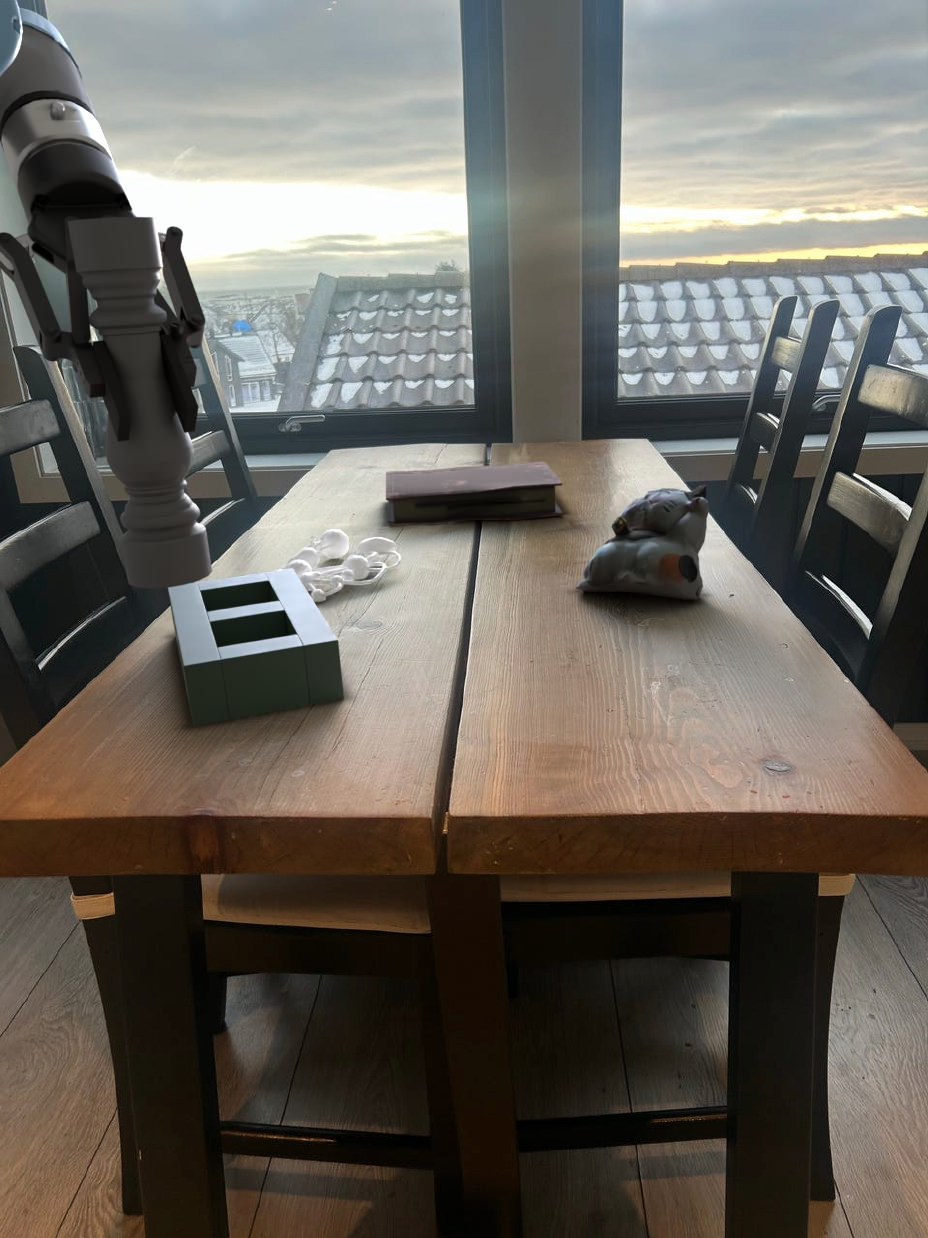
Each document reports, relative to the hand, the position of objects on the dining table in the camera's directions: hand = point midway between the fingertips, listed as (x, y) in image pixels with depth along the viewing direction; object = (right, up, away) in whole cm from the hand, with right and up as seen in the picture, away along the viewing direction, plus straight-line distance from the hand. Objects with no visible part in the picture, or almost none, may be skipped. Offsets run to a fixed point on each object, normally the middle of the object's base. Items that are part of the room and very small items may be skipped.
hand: (158, 423), depth 68 cm
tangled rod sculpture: (+6, -9, +52) cm, 53 cm away
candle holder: (-1, -10, +7) cm, 13 cm away
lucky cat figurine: (+41, -11, +42) cm, 59 cm away
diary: (+22, +3, +82) cm, 85 cm away
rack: (+1, -18, +27) cm, 33 cm away
